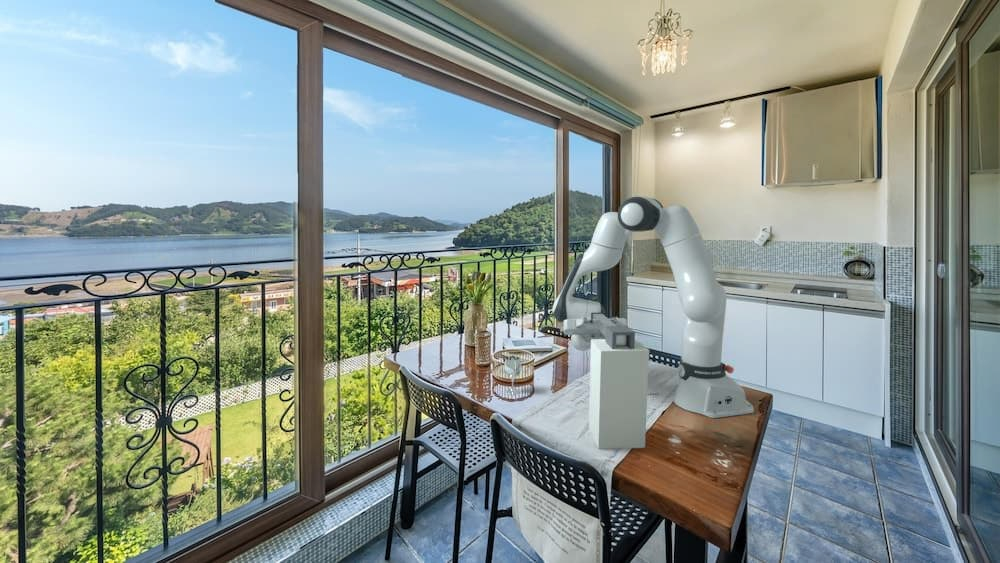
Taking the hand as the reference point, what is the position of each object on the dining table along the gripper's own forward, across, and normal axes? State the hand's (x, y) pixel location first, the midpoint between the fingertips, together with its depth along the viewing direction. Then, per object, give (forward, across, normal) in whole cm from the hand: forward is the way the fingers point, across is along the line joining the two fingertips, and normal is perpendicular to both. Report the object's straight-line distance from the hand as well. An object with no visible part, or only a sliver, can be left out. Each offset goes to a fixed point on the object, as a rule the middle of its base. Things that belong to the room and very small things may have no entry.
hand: (600, 319), depth 120 cm
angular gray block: (+5, 0, +5) cm, 8 cm away
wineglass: (-25, -26, +18) cm, 41 cm away
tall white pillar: (+1, 0, +33) cm, 33 cm away
